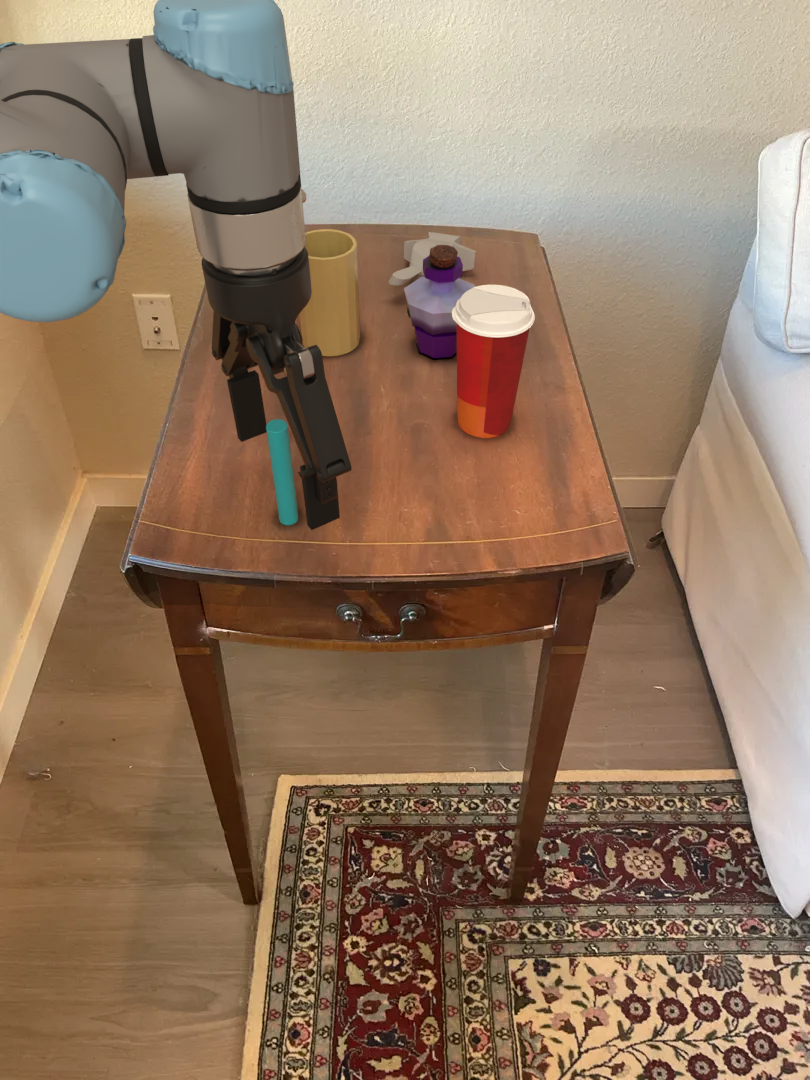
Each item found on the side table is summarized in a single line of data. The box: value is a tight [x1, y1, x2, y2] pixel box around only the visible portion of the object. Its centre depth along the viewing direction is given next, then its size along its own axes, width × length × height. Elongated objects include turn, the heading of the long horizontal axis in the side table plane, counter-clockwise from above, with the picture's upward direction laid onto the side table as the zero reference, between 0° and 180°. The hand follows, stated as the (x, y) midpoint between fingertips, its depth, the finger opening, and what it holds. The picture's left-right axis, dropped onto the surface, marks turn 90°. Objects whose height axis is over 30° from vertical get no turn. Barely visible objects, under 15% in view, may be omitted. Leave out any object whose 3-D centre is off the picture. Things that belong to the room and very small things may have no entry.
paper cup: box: [452, 284, 536, 439], centre depth 83 cm, size 8×8×14 cm
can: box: [298, 228, 361, 357], centre depth 94 cm, size 7×7×12 cm
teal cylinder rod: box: [266, 418, 299, 526], centre depth 74 cm, size 2×2×11 cm
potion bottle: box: [403, 245, 476, 361], centre depth 93 cm, size 9×9×12 cm
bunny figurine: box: [388, 231, 477, 287], centre depth 106 cm, size 10×5×15 cm
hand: (286, 476), depth 74 cm, fingers open, 13 cm apart
